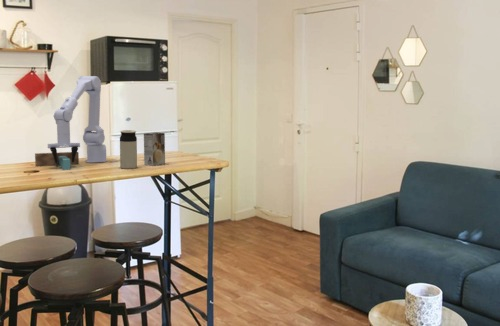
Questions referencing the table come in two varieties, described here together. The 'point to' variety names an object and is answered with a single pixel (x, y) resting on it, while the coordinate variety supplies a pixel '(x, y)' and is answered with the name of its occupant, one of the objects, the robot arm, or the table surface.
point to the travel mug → (128, 149)
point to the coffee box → (154, 149)
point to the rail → (64, 162)
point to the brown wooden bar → (49, 160)
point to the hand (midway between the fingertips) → (64, 162)
